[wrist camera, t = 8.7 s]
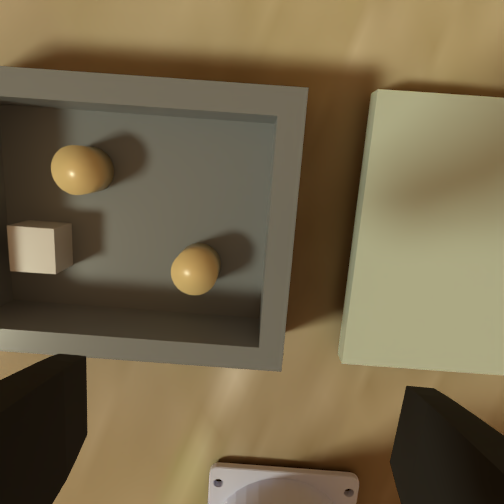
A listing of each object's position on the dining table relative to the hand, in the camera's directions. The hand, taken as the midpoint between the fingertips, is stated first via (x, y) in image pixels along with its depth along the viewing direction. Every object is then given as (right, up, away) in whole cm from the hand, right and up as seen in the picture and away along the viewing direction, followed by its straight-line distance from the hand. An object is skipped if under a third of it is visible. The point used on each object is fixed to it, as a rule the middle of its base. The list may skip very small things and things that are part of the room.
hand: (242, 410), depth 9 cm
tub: (-5, +5, +10) cm, 12 cm away
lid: (+12, +4, +9) cm, 16 cm away
